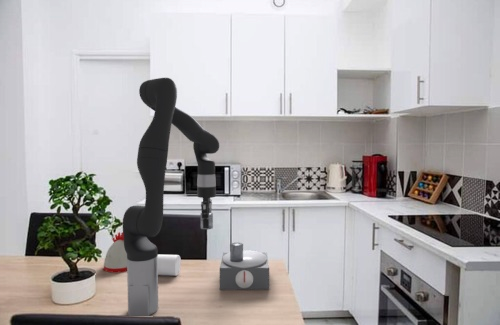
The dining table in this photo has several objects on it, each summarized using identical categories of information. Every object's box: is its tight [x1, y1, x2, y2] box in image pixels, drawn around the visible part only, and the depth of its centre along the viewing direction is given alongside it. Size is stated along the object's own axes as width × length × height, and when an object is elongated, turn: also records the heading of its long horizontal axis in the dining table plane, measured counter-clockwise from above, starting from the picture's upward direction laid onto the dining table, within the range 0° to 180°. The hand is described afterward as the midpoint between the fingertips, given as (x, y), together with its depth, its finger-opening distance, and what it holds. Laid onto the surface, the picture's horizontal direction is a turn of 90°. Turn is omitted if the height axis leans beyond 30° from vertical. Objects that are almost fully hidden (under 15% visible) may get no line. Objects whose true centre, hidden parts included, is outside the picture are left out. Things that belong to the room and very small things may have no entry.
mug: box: [158, 254, 182, 277], centre depth 135 cm, size 12×10×8 cm
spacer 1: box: [200, 211, 214, 230], centre depth 134 cm, size 5×5×6 cm
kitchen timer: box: [103, 231, 127, 273], centre depth 142 cm, size 14×14×15 cm
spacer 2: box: [229, 241, 244, 262], centre depth 123 cm, size 5×5×6 cm
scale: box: [219, 249, 270, 291], centre depth 126 cm, size 18×18×9 cm
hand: (206, 226), depth 134 cm, fingers closed on spacer 1, 5 cm apart
